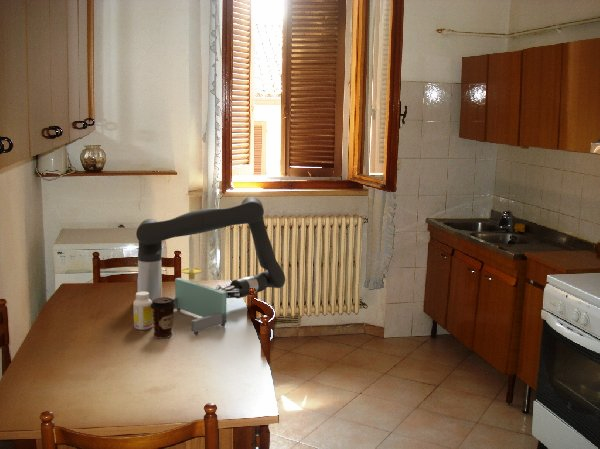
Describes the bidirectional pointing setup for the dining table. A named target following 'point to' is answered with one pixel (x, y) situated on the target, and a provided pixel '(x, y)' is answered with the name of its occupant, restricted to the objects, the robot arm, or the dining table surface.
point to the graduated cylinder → (191, 261)
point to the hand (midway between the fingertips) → (211, 296)
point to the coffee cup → (162, 316)
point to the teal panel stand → (200, 304)
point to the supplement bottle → (142, 311)
